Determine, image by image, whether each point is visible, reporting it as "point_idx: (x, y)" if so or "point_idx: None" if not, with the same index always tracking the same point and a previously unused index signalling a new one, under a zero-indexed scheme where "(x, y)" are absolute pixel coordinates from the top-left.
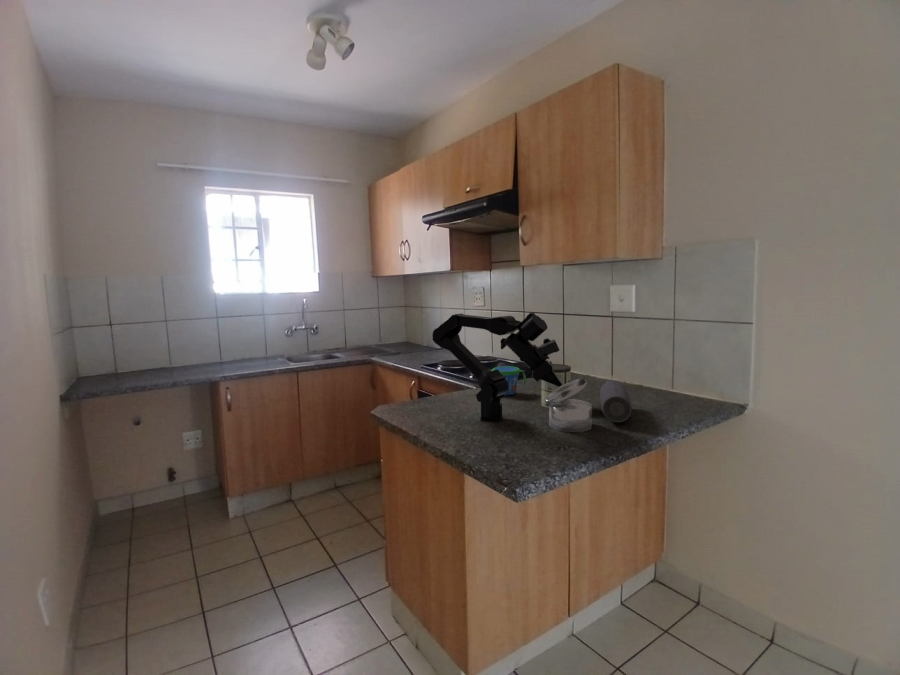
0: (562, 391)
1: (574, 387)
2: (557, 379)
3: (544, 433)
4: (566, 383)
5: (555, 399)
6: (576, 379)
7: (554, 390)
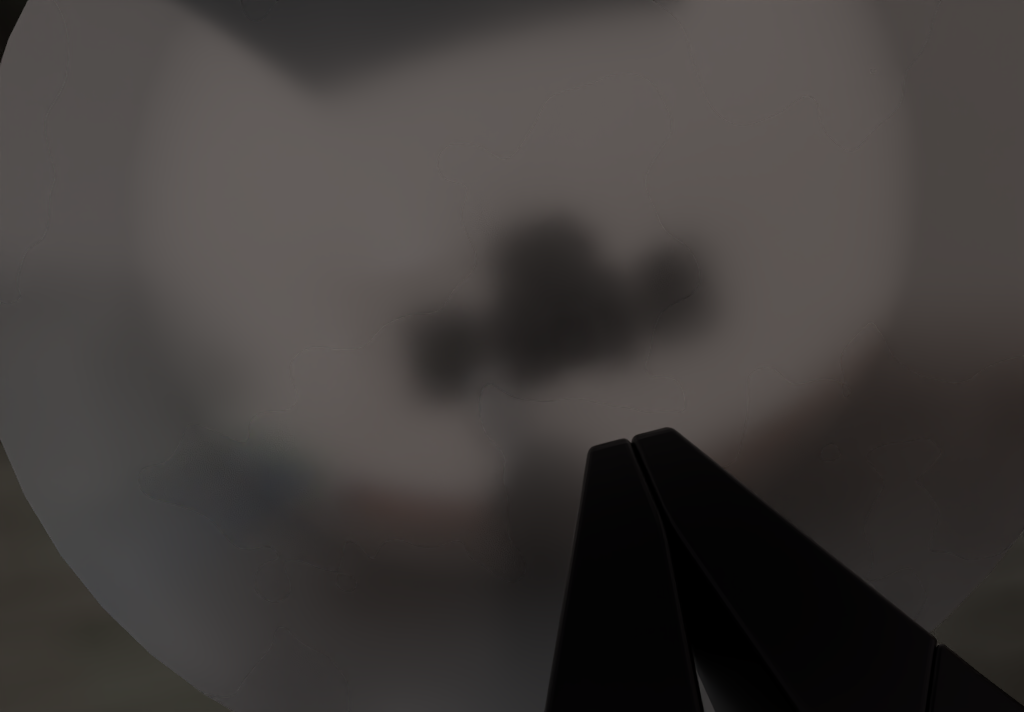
0: (624, 422)
1: (772, 48)
2: (825, 571)
3: (981, 610)
4: (17, 407)
5: (992, 522)
6: (6, 69)
7: (224, 690)
